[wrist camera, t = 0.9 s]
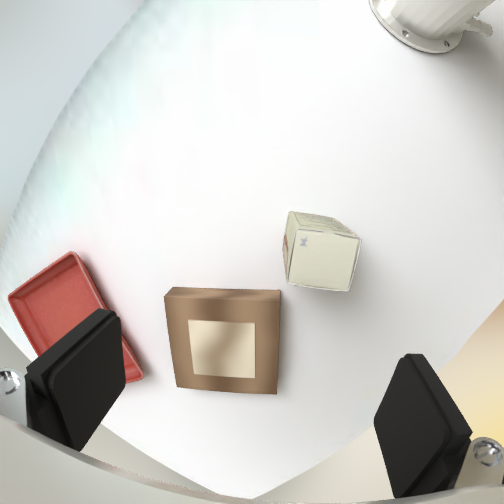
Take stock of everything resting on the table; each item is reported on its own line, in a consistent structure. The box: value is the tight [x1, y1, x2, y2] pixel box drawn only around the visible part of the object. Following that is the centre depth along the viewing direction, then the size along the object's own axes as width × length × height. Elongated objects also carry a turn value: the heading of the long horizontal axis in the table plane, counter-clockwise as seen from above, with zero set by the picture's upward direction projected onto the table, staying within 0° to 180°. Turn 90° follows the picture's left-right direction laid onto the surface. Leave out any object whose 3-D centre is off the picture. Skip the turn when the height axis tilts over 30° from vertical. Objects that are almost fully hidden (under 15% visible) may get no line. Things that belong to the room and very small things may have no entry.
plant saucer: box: [8, 251, 144, 383], centre depth 36 cm, size 18×18×3 cm
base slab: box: [164, 287, 280, 394], centre depth 34 cm, size 12×12×3 cm
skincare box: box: [283, 211, 362, 292], centre depth 27 cm, size 5×4×10 cm
